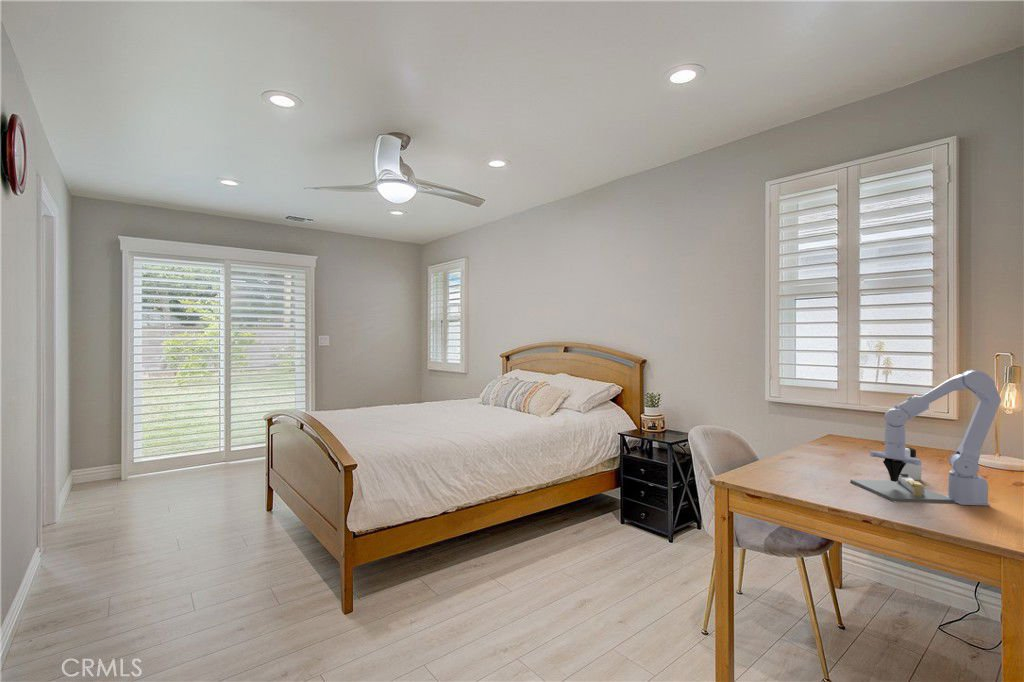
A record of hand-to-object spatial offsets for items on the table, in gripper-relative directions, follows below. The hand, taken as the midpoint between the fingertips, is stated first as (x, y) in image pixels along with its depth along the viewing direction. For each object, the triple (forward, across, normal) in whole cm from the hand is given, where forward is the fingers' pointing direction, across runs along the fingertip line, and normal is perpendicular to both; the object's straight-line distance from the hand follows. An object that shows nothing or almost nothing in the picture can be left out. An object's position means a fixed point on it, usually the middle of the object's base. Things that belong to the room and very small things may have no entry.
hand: (894, 480), depth 173 cm
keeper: (+3, +7, -2) cm, 8 cm away
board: (+3, +1, 0) cm, 4 cm away
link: (+2, +3, +5) cm, 6 cm away
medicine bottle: (+4, -6, +23) cm, 24 cm away
